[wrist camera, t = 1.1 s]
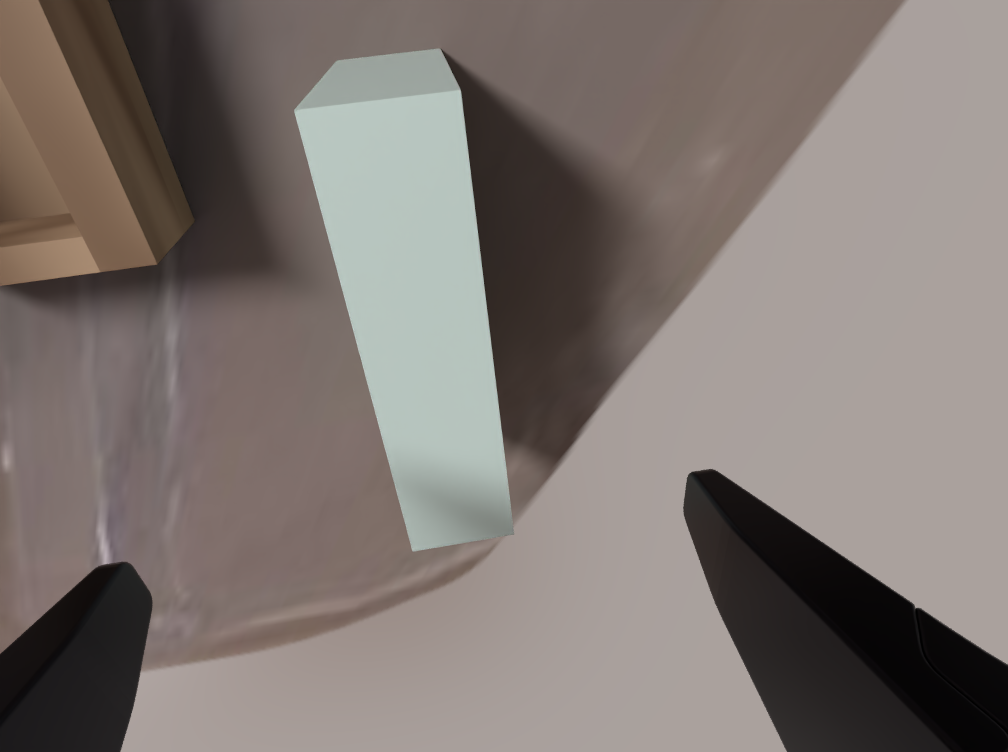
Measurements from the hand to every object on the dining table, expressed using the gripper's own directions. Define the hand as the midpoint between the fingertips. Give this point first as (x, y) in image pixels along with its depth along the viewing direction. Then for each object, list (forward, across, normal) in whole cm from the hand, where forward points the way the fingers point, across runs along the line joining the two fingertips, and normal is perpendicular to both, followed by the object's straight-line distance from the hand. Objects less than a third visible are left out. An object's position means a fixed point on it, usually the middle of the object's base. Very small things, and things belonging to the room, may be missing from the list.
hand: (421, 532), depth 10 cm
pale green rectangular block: (+13, 0, 0) cm, 13 cm away
